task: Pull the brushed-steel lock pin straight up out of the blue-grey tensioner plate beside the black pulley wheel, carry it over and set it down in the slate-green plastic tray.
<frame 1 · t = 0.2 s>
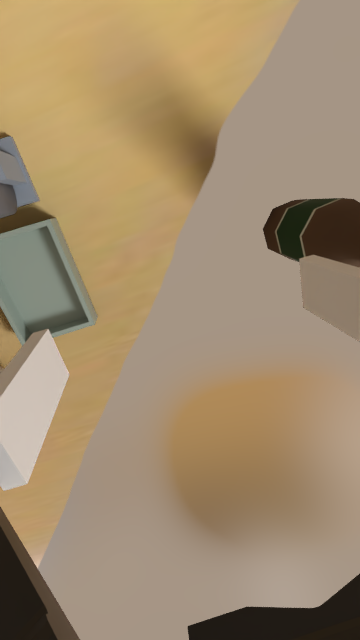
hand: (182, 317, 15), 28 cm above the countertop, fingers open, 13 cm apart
beer bottle: (286, 229, 43), on the countertop
tray: (42, 281, 40), on the countertop
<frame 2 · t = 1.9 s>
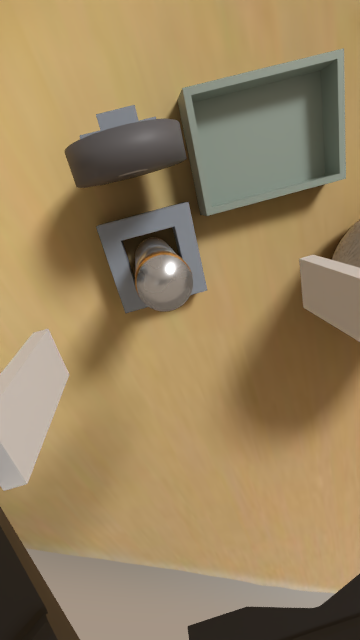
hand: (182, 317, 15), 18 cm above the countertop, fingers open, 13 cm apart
lock pin: (153, 256, 32), resting in tensioner
tensioner: (153, 256, 32), on the countertop
tray: (258, 143, 29), on the countertop
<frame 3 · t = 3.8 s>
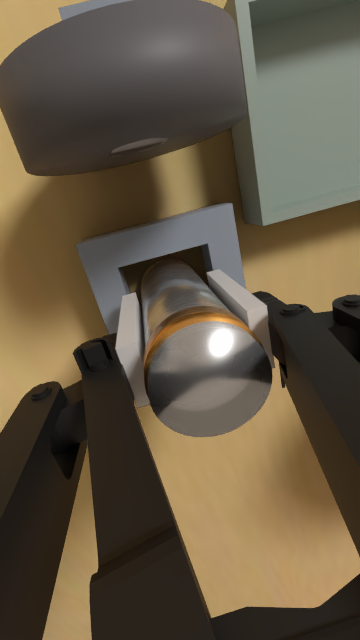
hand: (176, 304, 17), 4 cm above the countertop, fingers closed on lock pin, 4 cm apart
lock pin: (170, 287, 20), resting in tensioner, touching gripper
tensioner: (169, 287, 20), on the countertop
tray: (344, 106, 18), on the countertop
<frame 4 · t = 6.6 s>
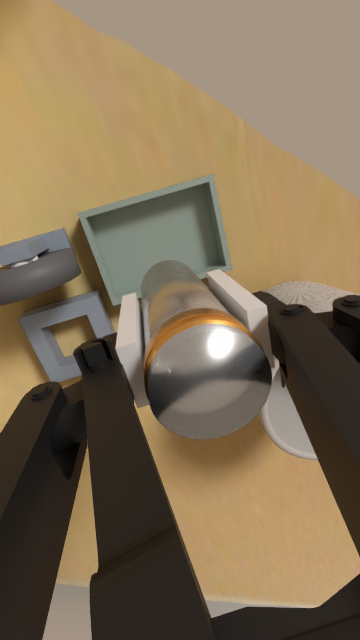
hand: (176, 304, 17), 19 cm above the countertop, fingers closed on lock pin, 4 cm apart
lock pin: (169, 289, 20), point 16 cm above the countertop, touching gripper
tensioner: (76, 333, 37), on the countertop
tray: (158, 240, 34), on the countertop
planter: (273, 326, 41), on the countertop
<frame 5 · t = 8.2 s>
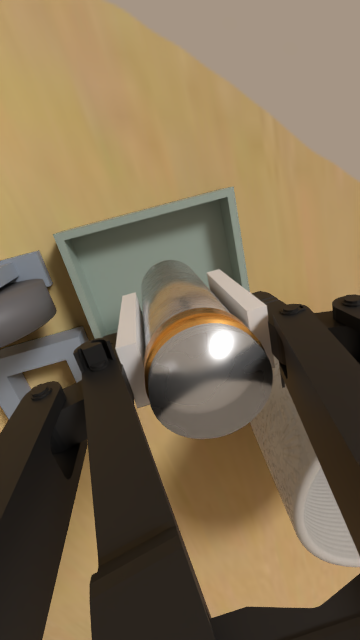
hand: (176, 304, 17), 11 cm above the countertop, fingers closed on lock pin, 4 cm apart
lock pin: (170, 288, 20), point 7 cm above the countertop, touching gripper
tensioner: (55, 377, 30), on the countertop
tray: (159, 267, 27), on the countertop
planter: (296, 369, 34), on the countertop
when the fingers open (5 cm above the countertop, at t = 9.5 s): lock pin stays where it is, resting on tray.
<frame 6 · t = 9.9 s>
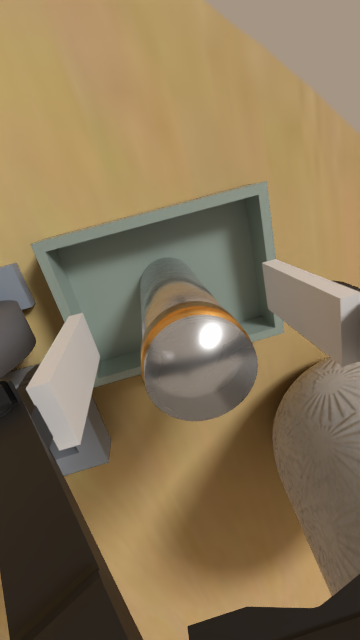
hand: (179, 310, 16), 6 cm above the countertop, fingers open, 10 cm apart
lock pin: (167, 285, 21), point 1 cm above the countertop, touching tray
tensioner: (40, 415, 24), on the countertop
tray: (167, 282, 22), on the countertop
planter: (329, 400, 29), on the countertop
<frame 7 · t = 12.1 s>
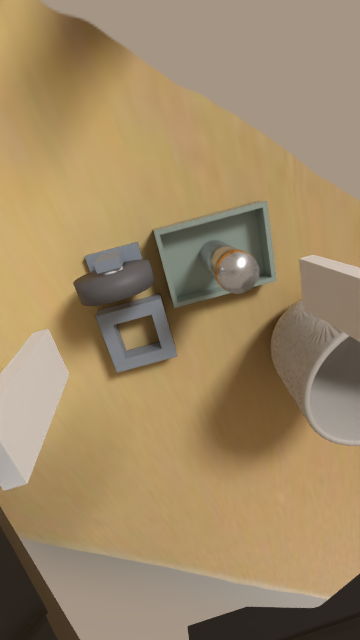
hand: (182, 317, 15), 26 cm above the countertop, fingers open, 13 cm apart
lock pin: (214, 254, 40), point 1 cm above the countertop, touching tray
tensioner: (138, 330, 43), on the countertop
tray: (213, 253, 40), on the countertop
planter: (306, 331, 47), on the countertop
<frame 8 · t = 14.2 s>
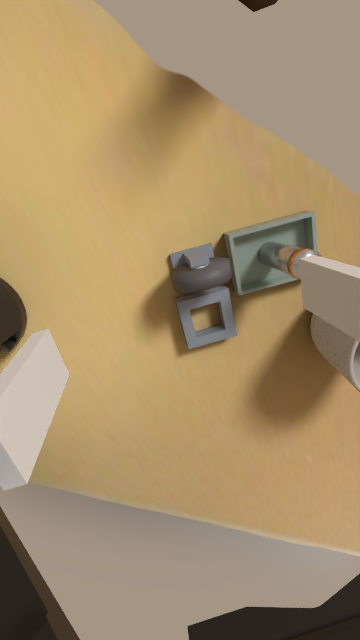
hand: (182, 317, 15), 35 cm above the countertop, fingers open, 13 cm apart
lock pin: (269, 253, 50), point 1 cm above the countertop, touching tray
tensioner: (205, 314, 53), on the countertop
tray: (268, 252, 51), on the countertop
planter: (336, 315, 57), on the countertop
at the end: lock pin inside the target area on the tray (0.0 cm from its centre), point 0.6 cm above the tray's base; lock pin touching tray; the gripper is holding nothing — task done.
